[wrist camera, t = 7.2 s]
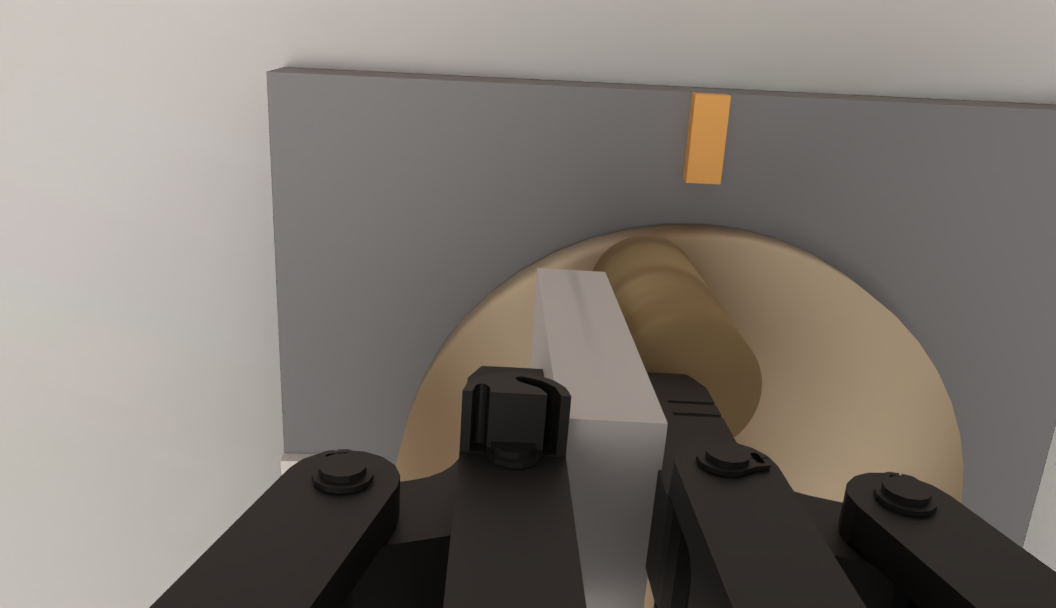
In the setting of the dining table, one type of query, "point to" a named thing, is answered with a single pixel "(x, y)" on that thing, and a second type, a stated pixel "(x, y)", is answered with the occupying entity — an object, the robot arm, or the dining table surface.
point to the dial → (729, 356)
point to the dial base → (647, 200)
